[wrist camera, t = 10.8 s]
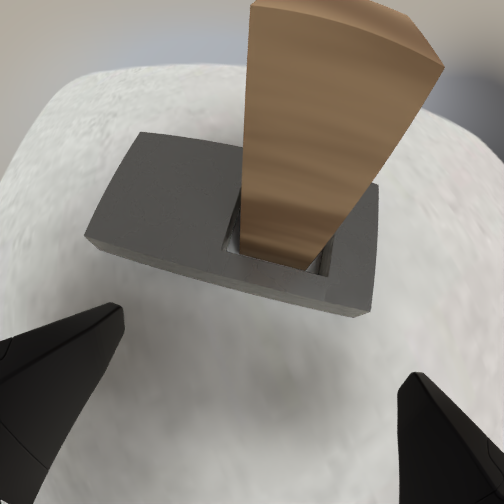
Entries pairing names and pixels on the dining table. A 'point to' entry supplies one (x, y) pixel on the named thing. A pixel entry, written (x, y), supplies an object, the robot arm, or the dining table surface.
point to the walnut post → (322, 116)
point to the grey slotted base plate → (223, 227)
